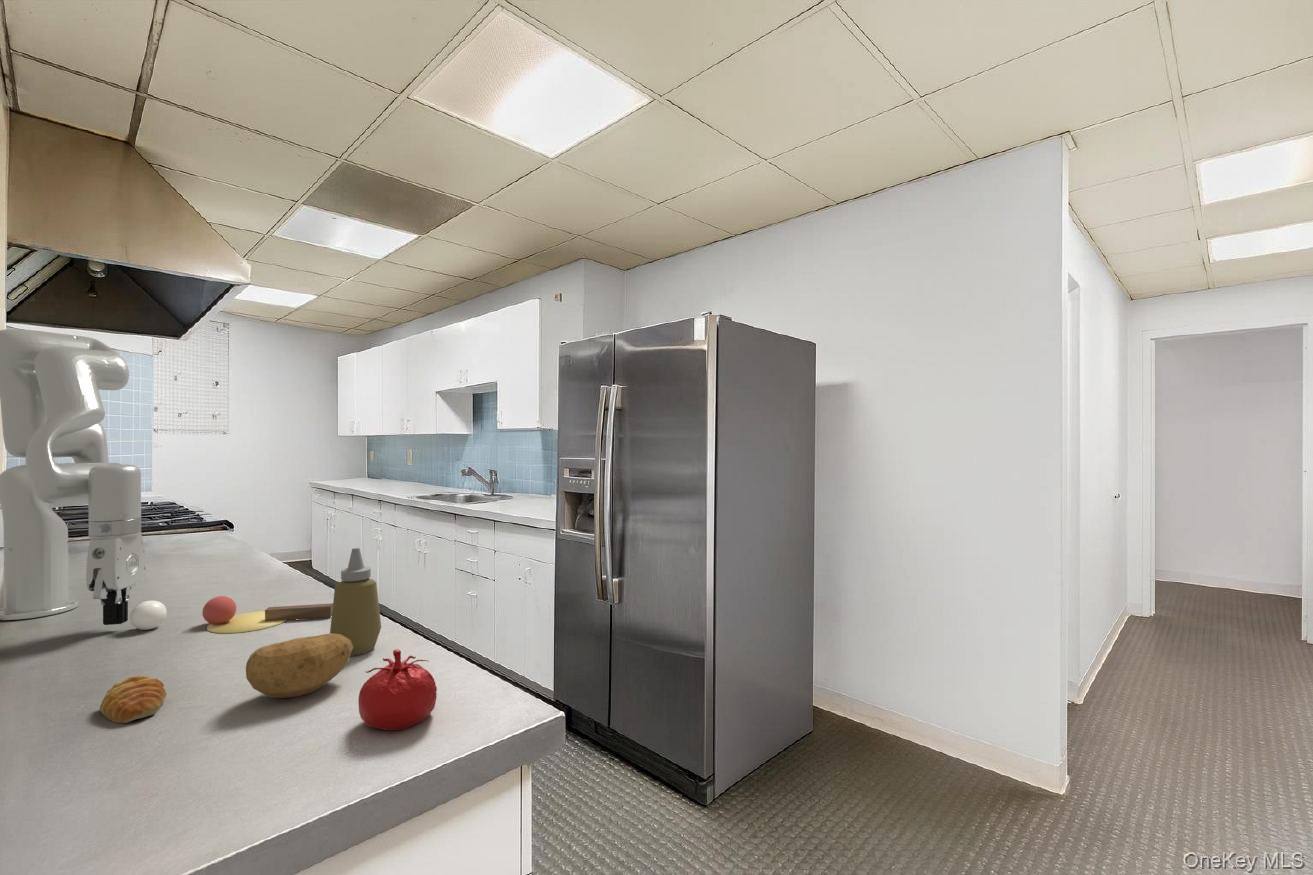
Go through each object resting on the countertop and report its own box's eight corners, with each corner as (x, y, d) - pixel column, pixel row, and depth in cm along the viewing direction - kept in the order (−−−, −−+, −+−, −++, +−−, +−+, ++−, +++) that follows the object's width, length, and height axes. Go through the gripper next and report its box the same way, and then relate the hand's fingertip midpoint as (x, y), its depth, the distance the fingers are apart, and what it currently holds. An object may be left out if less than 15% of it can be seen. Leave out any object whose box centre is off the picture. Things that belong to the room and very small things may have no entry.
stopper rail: (330, 617, 123) (330, 605, 123) (265, 622, 120) (264, 609, 120) (333, 615, 125) (333, 603, 125) (268, 619, 122) (268, 607, 122)
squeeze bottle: (318, 655, 102) (318, 550, 102) (358, 640, 109) (358, 543, 109) (353, 662, 99) (353, 554, 99) (391, 646, 106) (391, 546, 106)
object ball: (224, 586, 119) (246, 605, 120) (218, 595, 122) (239, 613, 123) (198, 606, 115) (221, 625, 115) (192, 615, 118) (214, 633, 119)
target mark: (193, 625, 118) (193, 624, 118) (269, 608, 130) (269, 607, 130) (227, 638, 110) (227, 637, 110) (304, 618, 122) (304, 617, 122)
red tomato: (387, 747, 72) (387, 671, 72) (341, 726, 77) (341, 654, 77) (454, 715, 80) (454, 646, 80) (408, 697, 86) (408, 633, 86)
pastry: (173, 714, 81) (172, 686, 81) (106, 733, 76) (105, 703, 76) (160, 694, 87) (160, 668, 87) (97, 710, 82) (97, 683, 82)
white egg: (165, 595, 116) (175, 621, 117) (156, 595, 119) (165, 621, 120) (130, 608, 112) (140, 635, 112) (121, 608, 115) (131, 634, 115)
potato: (364, 686, 89) (364, 633, 89) (256, 719, 79) (256, 659, 79) (339, 669, 96) (339, 619, 96) (235, 698, 85) (235, 642, 85)
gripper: (113, 533, 108) (113, 634, 108) (160, 522, 123) (160, 610, 123) (63, 535, 106) (63, 637, 106) (117, 523, 121) (117, 613, 121)
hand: (115, 622), depth 115 cm, fingers closed
